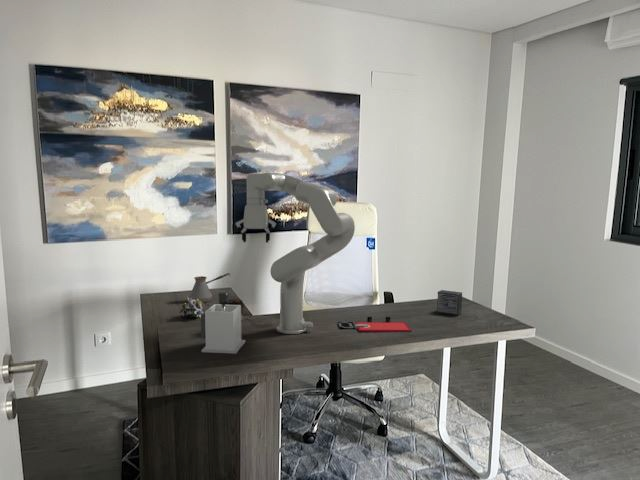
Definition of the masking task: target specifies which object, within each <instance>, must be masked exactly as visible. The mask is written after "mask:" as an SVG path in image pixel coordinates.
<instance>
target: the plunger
mask: <svg viewBox="0 0 640 480" xmlns="http://www.w3.org/2000/svg"><path fill="white" fill-rule="evenodd" d="M217 294H218V295H217V297H218V300H217V301H218V304H220V305H222V311H223V312H225V304H228V300H229V292H228V291H220V292H219V291H218V293H217Z"/></svg>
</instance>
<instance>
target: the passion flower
mask: <svg viewBox="0 0 640 480" xmlns="http://www.w3.org/2000/svg"><path fill="white" fill-rule="evenodd" d="M186 299H187V303H186V302H184V303H181V305H180V306H181V307H182V309H181V310H179V314H181V313H182V312H183V313H182V318H184V317H185V315H186V314H187V313H189V312H192V315H193V316H194V317H195V318H196V319H198V318H199V319H201V314H202V313H204V308H203V306H204V303H202V302H201V299H199V300H198V299H197V300H196V301H195V299H192V298H190V297H188V296H186Z"/></svg>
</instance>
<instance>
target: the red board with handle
mask: <svg viewBox="0 0 640 480" xmlns="http://www.w3.org/2000/svg"><path fill="white" fill-rule="evenodd" d="M337 322H338V326H339V328H340V329H354V330H357V332H358V333H401V332H402V333H405V332H406V333H407V332H409V333H412V332H413V331H412V329H411V328H410V327H409V325H408V324H407V323H406V322H404V321H402V322H401V321H399V322H398V321H393V322H391V316H385V322H383V321H380V322H379V321H374V322H373V318H372V316H367V319H366V322H365V321H362V322H361V321H356V322H353V321H337Z"/></svg>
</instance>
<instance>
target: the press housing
mask: <svg viewBox="0 0 640 480" xmlns="http://www.w3.org/2000/svg"><path fill="white" fill-rule="evenodd" d="M200 335H201V336H200V337H201V339H205V346H204V347H203V348H202V349H201V353H210V354H211V353H213V354H234V355H235V354H237V353H238V352H239V351H240V349H241V348H242V347H243V346H244V344H245V343H246V339H242V323H241V305H225V312H223V311H222V305H221V304H219V303H218V304H213V305H211V306H210V307H209V308H208V309H206V310H204V312H203V313H201V318H200Z"/></svg>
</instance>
